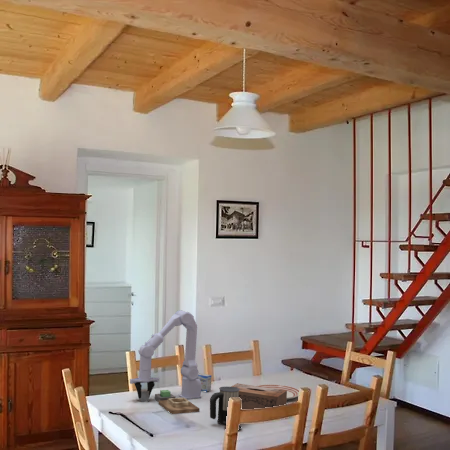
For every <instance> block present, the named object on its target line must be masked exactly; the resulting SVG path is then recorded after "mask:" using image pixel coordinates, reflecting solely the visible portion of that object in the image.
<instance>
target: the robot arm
mask: <svg viewBox="0 0 450 450" xmlns="http://www.w3.org/2000/svg"><path fill="white" fill-rule="evenodd" d="M179 326H183V327H184V328H185V329H186V333H185V334H186V335H185V336H186V337H185V352H184V360H183V362H182V365H181V366H182V367H181V368H180V373H181V376H182V377H181V378H182V379H181V393H179V394H178V396H179V397H180V398H185V399H187V400H188V399H199V398H200V399H201V398H202V396H201V395H202V394H201V393H202V392H201V381H200V379H196V378H197V377H198V375H199V370H198V364H197V361H196V354H197V353H196V352H197V337H198V336H197V335H198V325H197V322H196V320H195V317H194V315H193V314H192V313H191V312H188V311H185V310H181V309H179V310H177V311H175V313H173V314H172V315H171V317H170V318H169V319H168V321H167V322H166V323H165V324H164V326H163V327H162V328H161V330H159V332H155V333H152V334H151V335H150V336H151V337H149V339H148V341H145V342H144V344H142V345H141V346H140V347H139V349H138V353H139V370H138V371H139V372H138V377H137V378H130V379H129V384H131V385H132V384H134V386H135V389H136V393H137V398H138V399H139V398H141V389H142V386H143V385H142V384H147V385H146V386H147V387H146V389H148V390H149V399H150V396H151V393H152V391H153V390H154V387H155V384H156V383H160V378H159V377H152V358H153V357H152V356H154V353H155V351H156V350H157V349H158V347H159V346H160V345H161V344H162V343H163V342H164V339H165V337H166V336H167V335H168V333H170V332H171V331H172V330H173V329H174V328H175V327H179Z"/></svg>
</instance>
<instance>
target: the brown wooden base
mask: <svg viewBox="0 0 450 450" xmlns="http://www.w3.org/2000/svg"><path fill="white" fill-rule="evenodd" d="M158 405H159V406H160V407H162V408H163V409H164V410H165V411H166V412H168V411H169V412H170V413H172V414H171V415H177V414H189V413H200V408H199V407H198V406H196V405H195V404H193V403H192V402H191V401H190V400H188V399H185V398H182V397H176V398H171V399H168V400H163V401H159V402H158ZM169 412H168V413H169ZM170 413H169V414H170Z"/></svg>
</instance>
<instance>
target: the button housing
mask: <svg viewBox="0 0 450 450" xmlns="http://www.w3.org/2000/svg"><path fill="white" fill-rule="evenodd" d="M171 398H177V397H176V396H175V395H174V394H173V393H171V394H170V397H162V396H160V393H155V394H154V400H155V401H156V402H158V403H159V401H163V400H168V399H171Z"/></svg>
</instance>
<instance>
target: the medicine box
mask: <svg viewBox="0 0 450 450" xmlns="http://www.w3.org/2000/svg"><path fill="white" fill-rule="evenodd" d="M212 376H213V375H211V374H206V373H199V375H198V377H197V378H196V379H200V381H201V391H206V392H205V393H208V392H207V391H210V390H211V391H212ZM211 391H210V392H211Z"/></svg>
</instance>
